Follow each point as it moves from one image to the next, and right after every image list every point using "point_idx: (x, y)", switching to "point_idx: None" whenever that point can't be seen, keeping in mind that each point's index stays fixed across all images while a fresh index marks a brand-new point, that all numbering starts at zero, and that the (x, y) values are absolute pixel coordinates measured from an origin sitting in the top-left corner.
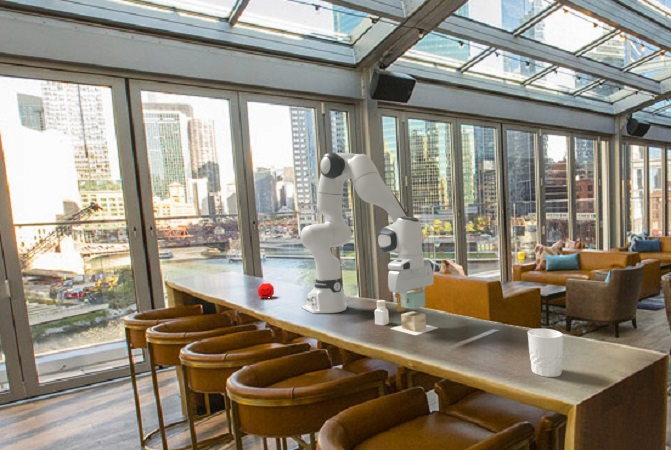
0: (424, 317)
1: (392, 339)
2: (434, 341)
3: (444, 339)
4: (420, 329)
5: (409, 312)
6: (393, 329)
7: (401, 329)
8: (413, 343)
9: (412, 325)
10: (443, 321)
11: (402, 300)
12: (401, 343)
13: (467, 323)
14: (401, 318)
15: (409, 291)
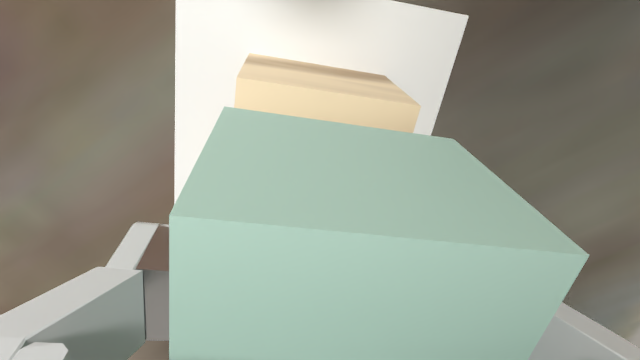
0: None
1: (43, 108)
2: None
3: None
4: None
5: (358, 108)
6: (176, 9)
7: (220, 69)
8: (94, 249)
9: None
10: (601, 162)
11: (124, 240)
12: (35, 200)
13: (585, 278)
14: (242, 69)
15: (424, 294)
